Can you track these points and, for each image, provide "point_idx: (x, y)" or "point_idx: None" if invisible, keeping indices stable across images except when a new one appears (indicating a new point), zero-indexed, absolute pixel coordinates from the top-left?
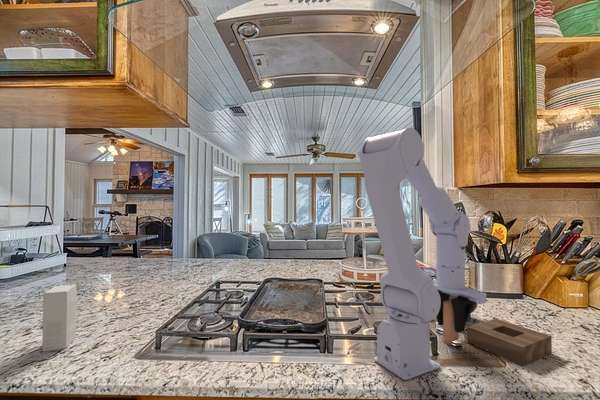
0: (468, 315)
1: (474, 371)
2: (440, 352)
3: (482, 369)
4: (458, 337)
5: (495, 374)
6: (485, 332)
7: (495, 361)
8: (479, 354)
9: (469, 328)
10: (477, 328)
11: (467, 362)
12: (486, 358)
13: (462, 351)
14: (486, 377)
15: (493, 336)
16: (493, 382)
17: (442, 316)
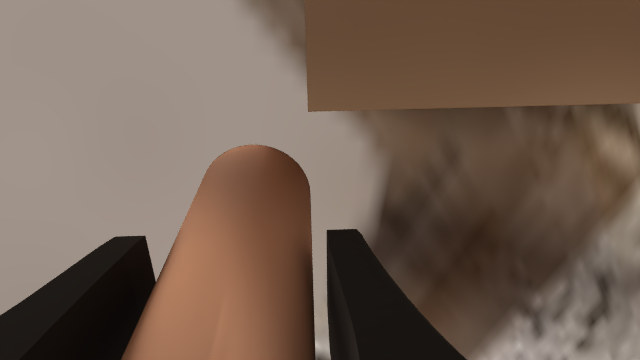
0: (441, 338)
1: (540, 349)
2: (321, 341)
3: (560, 306)
4: (302, 198)
5: (625, 294)
6: (526, 79)
7: (582, 163)
8: (470, 167)
9: (338, 107)
10: (408, 47)
11: (474, 310)
12: (526, 177)
13: (380, 228)
14: (600, 347)
15: (626, 103)
16: (637, 355)
17: (119, 353)
